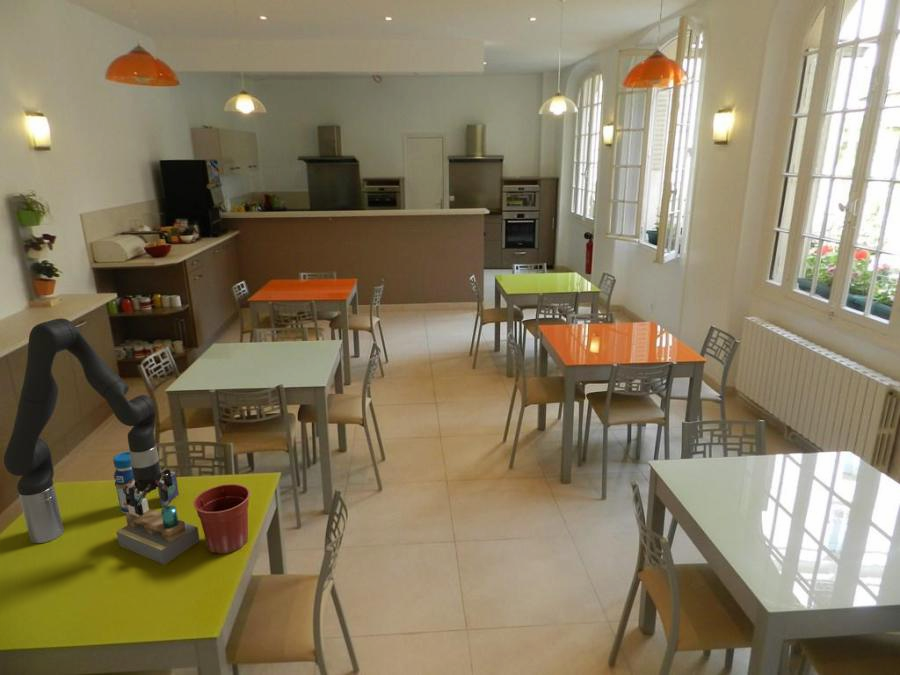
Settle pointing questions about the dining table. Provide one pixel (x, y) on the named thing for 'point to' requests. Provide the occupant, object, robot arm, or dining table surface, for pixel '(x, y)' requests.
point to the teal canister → (169, 516)
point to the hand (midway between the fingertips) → (152, 507)
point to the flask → (170, 490)
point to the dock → (156, 542)
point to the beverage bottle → (123, 478)
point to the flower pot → (224, 516)
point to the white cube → (144, 505)
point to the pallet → (156, 525)
